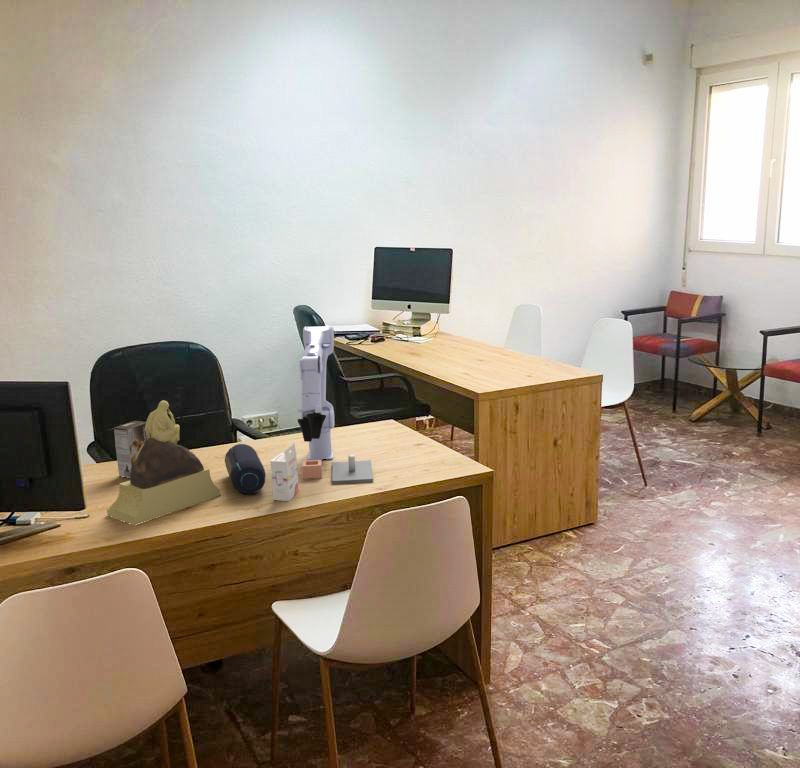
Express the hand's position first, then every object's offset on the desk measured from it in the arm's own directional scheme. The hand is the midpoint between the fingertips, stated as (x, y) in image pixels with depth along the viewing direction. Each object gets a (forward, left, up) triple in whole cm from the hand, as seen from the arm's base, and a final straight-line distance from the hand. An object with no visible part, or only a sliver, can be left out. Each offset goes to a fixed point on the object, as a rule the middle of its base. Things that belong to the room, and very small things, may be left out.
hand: (311, 440), depth 248 cm
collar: (-1, 0, -12) cm, 12 cm away
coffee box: (-12, -55, -12) cm, 58 cm away
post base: (-1, +12, -12) cm, 16 cm away
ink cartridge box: (+16, -7, -12) cm, 21 cm away
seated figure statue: (+18, -41, -12) cm, 46 cm away
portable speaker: (+3, -20, -12) cm, 23 cm away
